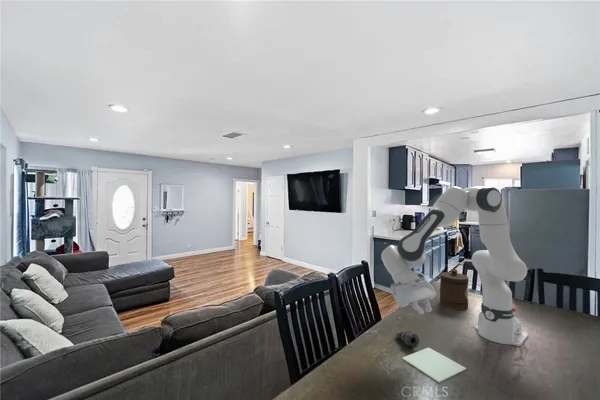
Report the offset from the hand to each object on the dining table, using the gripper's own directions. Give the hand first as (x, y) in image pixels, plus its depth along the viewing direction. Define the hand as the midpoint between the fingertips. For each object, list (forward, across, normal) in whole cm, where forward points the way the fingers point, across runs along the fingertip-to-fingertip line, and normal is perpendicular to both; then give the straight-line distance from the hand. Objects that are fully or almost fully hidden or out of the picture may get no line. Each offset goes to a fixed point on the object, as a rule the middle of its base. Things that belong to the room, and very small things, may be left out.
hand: (426, 312), depth 107 cm
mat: (+15, +1, +12) cm, 19 cm away
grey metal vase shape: (+6, +3, +16) cm, 18 cm away
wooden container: (-7, +64, +35) cm, 73 cm away
